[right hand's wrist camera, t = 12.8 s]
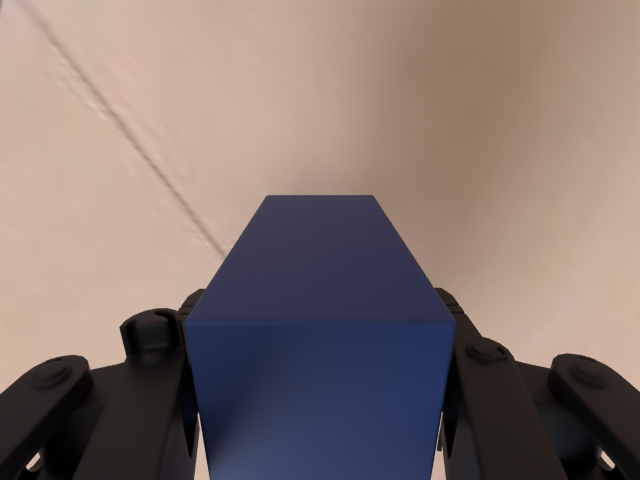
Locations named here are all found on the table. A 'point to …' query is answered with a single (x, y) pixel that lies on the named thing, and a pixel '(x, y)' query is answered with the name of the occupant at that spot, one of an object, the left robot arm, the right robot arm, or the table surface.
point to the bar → (320, 348)
